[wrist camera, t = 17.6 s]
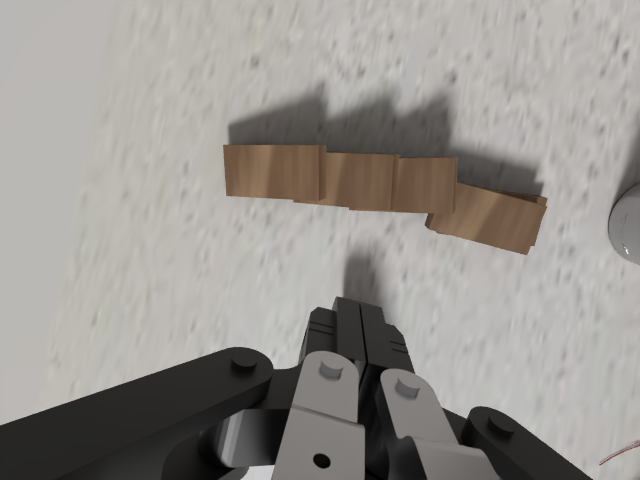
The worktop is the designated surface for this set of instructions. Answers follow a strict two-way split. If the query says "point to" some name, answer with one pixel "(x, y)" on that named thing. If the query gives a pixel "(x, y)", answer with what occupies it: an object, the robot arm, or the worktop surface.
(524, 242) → the tile
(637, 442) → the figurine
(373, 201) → the tile
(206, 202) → the worktop surface
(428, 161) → the tile
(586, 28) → the worktop surface
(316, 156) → the end tile
